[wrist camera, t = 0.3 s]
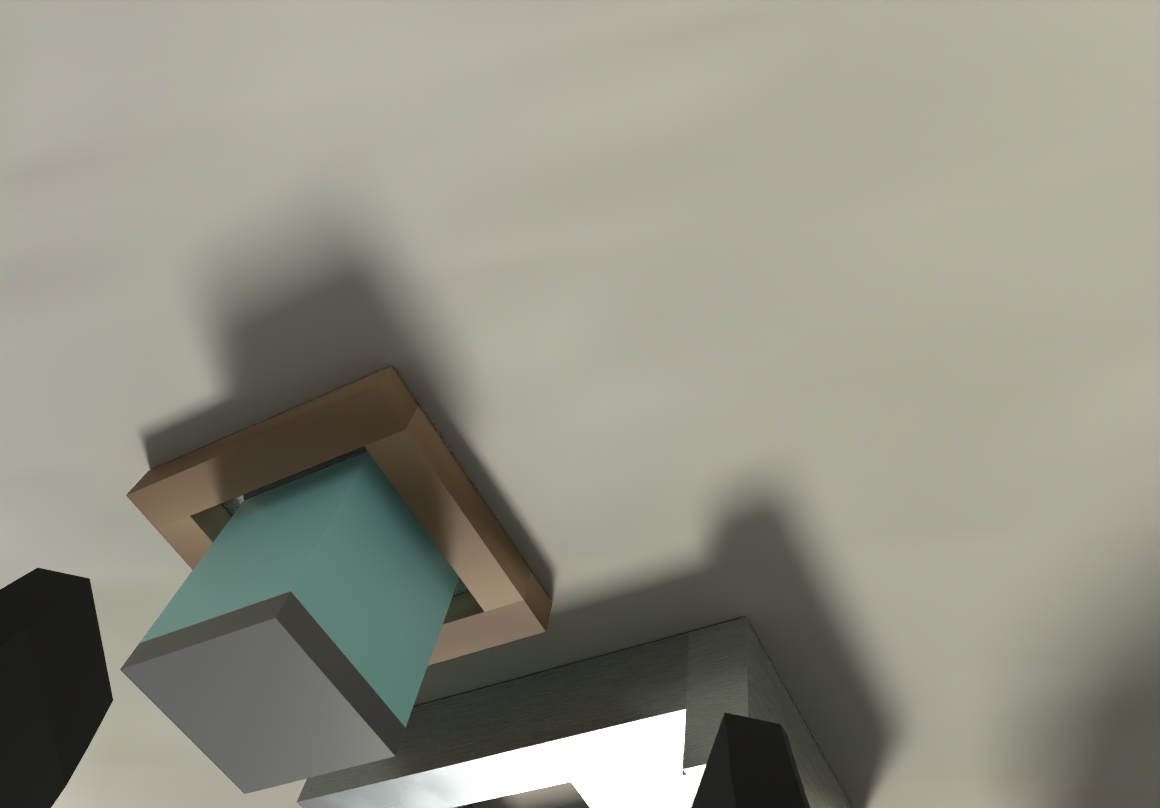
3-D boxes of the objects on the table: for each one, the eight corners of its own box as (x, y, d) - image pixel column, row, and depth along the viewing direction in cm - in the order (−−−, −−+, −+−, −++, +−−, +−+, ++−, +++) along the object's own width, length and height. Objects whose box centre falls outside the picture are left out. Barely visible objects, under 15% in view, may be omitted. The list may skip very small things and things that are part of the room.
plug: (461, 570, 23) (395, 756, 18) (336, 611, 24) (244, 794, 20) (373, 448, 21) (275, 617, 17) (244, 499, 23) (120, 669, 18)
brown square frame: (552, 602, 23) (545, 631, 22) (322, 671, 25) (308, 699, 25) (391, 365, 20) (376, 388, 19) (148, 470, 22) (126, 495, 22)
